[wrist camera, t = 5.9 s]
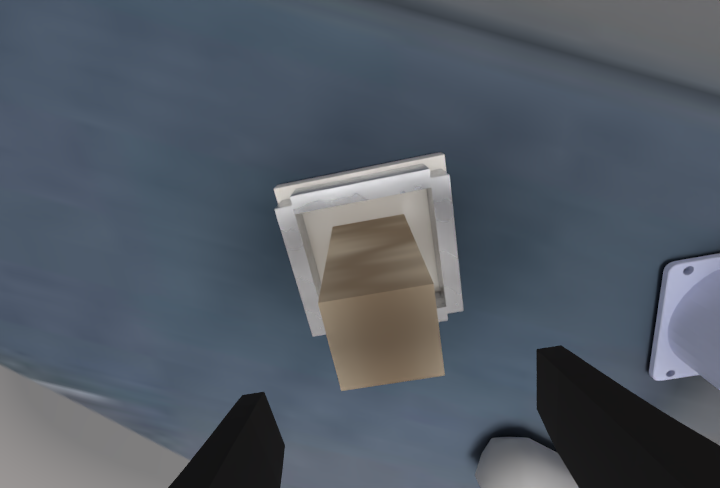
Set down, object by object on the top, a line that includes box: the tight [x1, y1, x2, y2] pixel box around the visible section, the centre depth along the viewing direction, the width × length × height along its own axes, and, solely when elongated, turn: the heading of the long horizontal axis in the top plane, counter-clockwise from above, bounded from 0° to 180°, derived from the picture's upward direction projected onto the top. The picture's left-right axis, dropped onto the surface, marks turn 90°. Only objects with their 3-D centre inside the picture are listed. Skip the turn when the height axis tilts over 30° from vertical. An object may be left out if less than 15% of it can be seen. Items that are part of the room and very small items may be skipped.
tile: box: [274, 152, 446, 292], centre depth 18 cm, size 8×8×1 cm
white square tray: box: [274, 163, 463, 337], centre depth 17 cm, size 8×8×2 cm
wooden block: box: [318, 214, 445, 391], centre depth 14 cm, size 4×4×7 cm
